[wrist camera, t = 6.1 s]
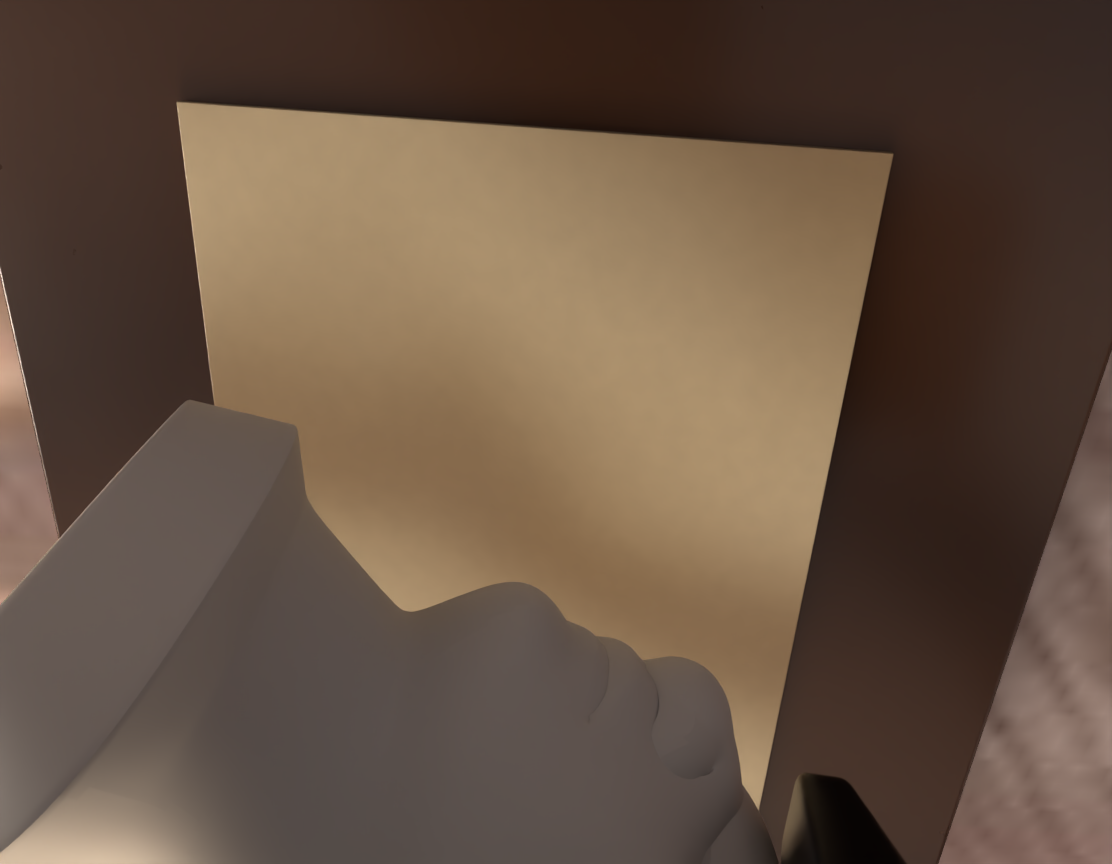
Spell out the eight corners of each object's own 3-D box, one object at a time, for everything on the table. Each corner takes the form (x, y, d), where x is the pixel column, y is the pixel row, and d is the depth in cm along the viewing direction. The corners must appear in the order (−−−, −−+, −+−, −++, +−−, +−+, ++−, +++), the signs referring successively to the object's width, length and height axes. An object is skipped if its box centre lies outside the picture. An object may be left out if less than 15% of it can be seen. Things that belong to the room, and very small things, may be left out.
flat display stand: (889, 876, 16) (946, 1140, 12) (167, 767, 17) (26, 974, 13) (1249, -294, 9) (1641, -498, 5) (-34, -323, 10) (-448, -498, 6)
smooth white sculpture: (801, 792, 11) (448, 1003, 11) (433, 220, 9) (-13, 509, 9) (1017, 1166, 7) (457, 1484, 7) (435, 287, 4) (-394, 819, 5)
